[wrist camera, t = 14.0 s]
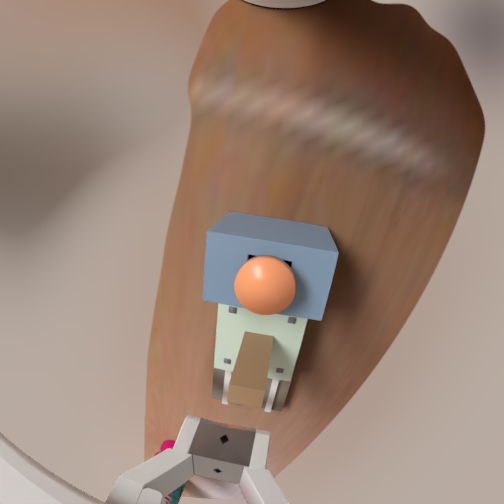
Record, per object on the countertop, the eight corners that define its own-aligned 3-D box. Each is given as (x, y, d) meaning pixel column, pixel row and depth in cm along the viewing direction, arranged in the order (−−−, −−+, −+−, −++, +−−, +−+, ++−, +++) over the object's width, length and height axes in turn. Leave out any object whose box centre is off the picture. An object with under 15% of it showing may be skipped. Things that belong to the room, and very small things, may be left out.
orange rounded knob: (248, 235, 25) (237, 254, 20) (299, 243, 24) (300, 265, 20) (242, 281, 26) (231, 309, 21) (290, 290, 26) (289, 319, 21)
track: (224, 265, 31) (219, 272, 29) (315, 280, 30) (317, 289, 28) (214, 390, 38) (210, 400, 36) (282, 403, 37) (281, 414, 35)
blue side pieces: (229, 211, 29) (207, 231, 22) (327, 226, 28) (338, 252, 21) (224, 268, 31) (202, 303, 24) (315, 283, 30) (320, 323, 23)
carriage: (222, 287, 29) (193, 341, 21) (309, 302, 29) (313, 362, 20) (216, 359, 33) (194, 417, 24) (290, 373, 32) (286, 435, 23)
